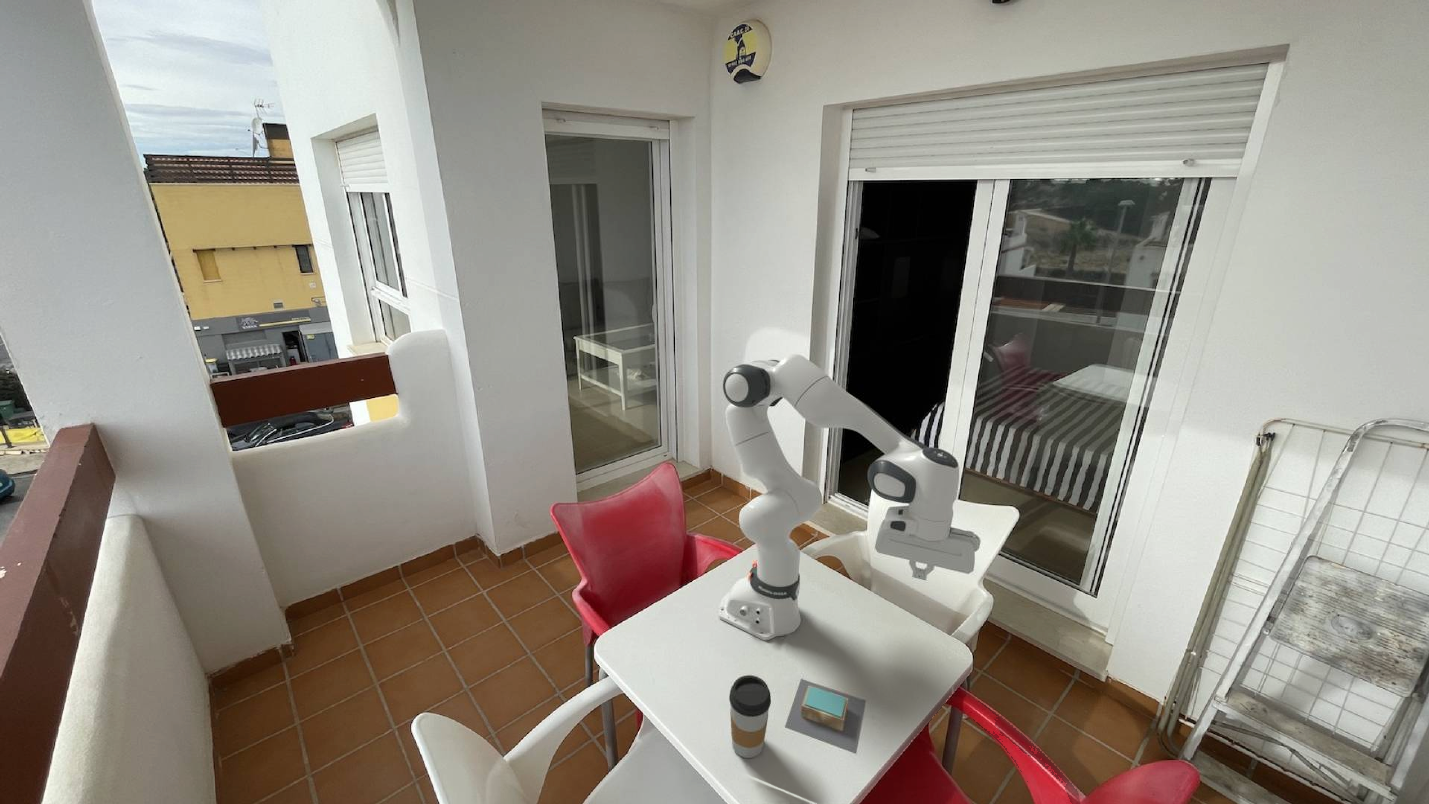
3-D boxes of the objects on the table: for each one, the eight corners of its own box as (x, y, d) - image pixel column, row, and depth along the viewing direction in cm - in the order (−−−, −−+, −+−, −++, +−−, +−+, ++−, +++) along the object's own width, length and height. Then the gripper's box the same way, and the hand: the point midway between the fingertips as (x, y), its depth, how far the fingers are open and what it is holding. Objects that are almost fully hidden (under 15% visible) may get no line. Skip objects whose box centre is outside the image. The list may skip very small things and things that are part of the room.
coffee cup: (725, 729, 116) (727, 674, 111) (763, 726, 117) (767, 672, 112) (729, 766, 108) (732, 709, 103) (770, 763, 109) (775, 706, 104)
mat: (784, 728, 116) (784, 726, 116) (800, 680, 128) (801, 678, 128) (855, 755, 111) (855, 753, 111) (865, 702, 123) (865, 700, 123)
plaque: (842, 731, 115) (800, 716, 119) (846, 708, 121) (807, 695, 124) (843, 719, 114) (801, 704, 118) (848, 697, 120) (808, 684, 123)
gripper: (981, 526, 114) (970, 581, 119) (881, 505, 122) (874, 558, 126) (982, 541, 109) (970, 598, 113) (878, 519, 116) (870, 573, 121)
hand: (919, 577), depth 120 cm, fingers closed
